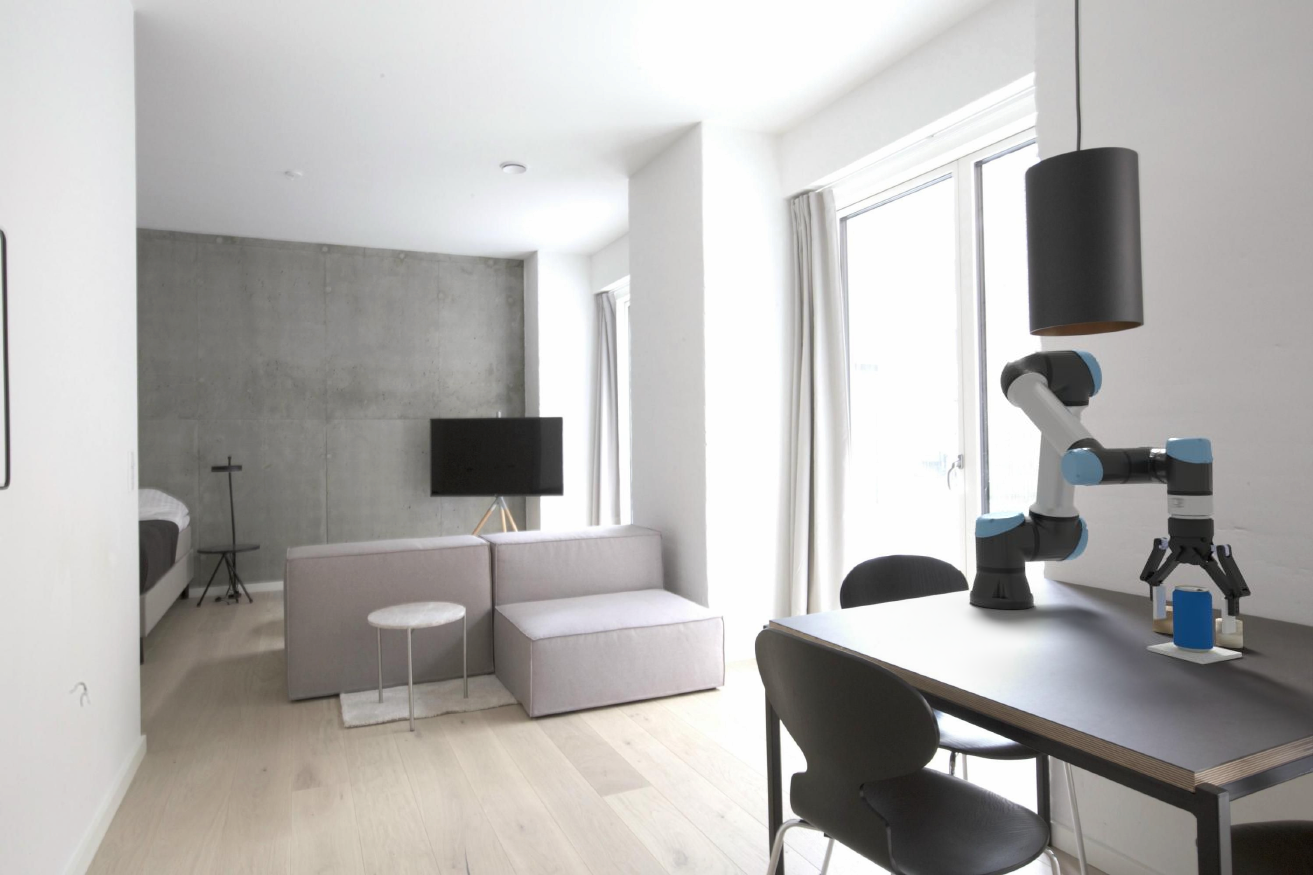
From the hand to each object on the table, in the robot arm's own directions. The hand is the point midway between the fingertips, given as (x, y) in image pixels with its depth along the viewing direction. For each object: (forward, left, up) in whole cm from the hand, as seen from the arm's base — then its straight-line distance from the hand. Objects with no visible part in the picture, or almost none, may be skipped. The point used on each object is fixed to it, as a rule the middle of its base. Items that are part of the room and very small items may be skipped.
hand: (1193, 625), depth 157 cm
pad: (0, 0, -6) cm, 6 cm away
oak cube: (-14, +13, -6) cm, 20 cm away
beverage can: (0, 0, -5) cm, 5 cm away
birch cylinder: (-1, +12, -6) cm, 13 cm away
